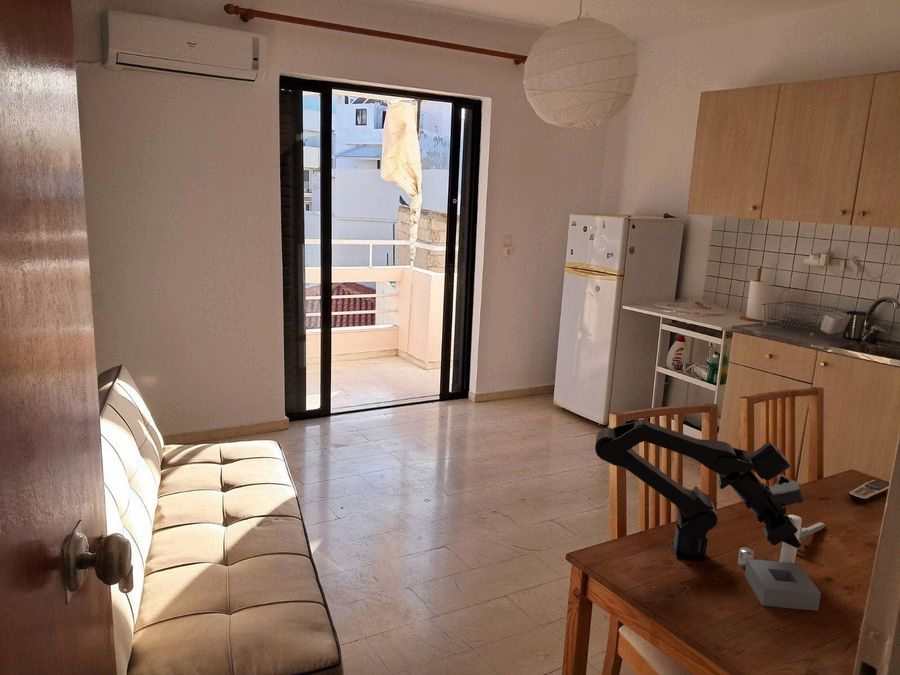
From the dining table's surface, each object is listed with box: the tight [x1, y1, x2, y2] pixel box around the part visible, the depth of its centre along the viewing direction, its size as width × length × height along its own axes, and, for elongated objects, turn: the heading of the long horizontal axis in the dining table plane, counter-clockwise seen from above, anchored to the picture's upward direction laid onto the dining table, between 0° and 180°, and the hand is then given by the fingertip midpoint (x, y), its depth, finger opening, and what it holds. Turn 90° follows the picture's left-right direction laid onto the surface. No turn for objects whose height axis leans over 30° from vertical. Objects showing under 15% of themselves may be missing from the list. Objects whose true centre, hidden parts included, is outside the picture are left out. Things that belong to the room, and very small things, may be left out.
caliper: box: [797, 521, 826, 552], centre depth 164 cm, size 20×1×6 cm, turn 133°
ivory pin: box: [778, 514, 803, 563], centre depth 150 cm, size 3×3×12 cm
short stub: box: [737, 547, 755, 569], centre depth 151 cm, size 3×3×4 cm
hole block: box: [744, 559, 822, 612], centre depth 141 cm, size 11×11×4 cm
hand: (797, 542), depth 149 cm, fingers closed on ivory pin, 3 cm apart
